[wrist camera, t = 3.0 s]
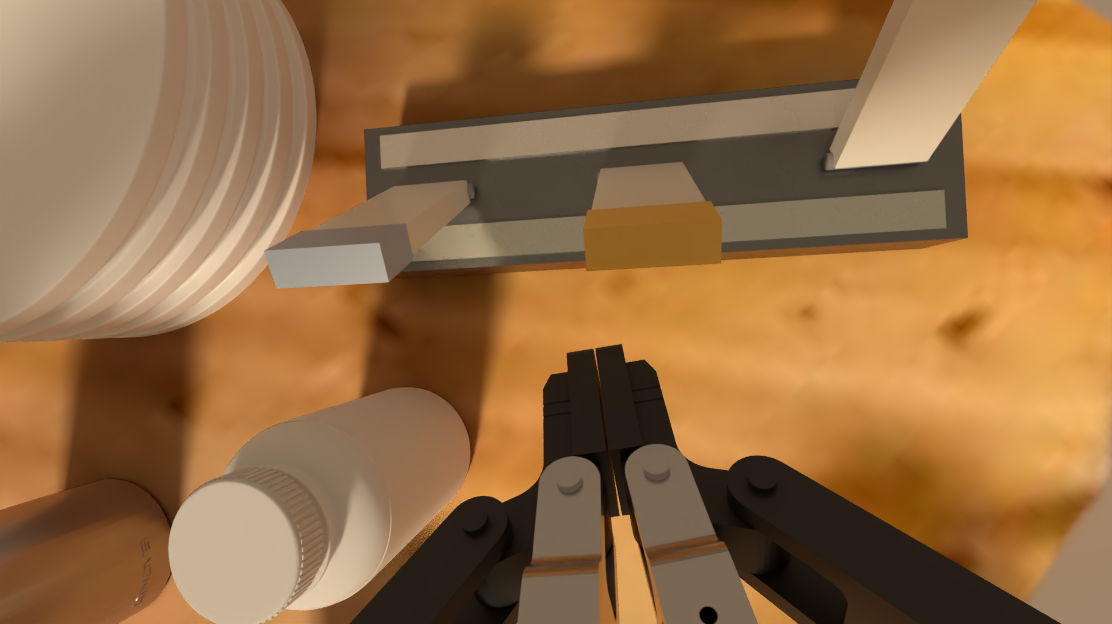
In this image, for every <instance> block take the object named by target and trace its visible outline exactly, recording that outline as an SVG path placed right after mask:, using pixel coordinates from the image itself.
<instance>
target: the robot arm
mask: <svg viewBox="0 0 1112 624" xmlns="http://www.w3.org/2000/svg"><path fill="white" fill-rule="evenodd" d="M595 349H596V357H597V364H598V370H597V365H596V360H595V355H594V350H593V349H588V350H582V351H576V352H570V353H567V365H568V372H564V373H558V374H552V375H550V377H549V379H548V381H547V383H546V385H545V387H544V389H543V405H544V407H543V416H544V419H543V430H544V465H543V470H542V473H541V475H540V477H539V479H538V480H537V482H536V483H535V484H534V485H533V486H532V487H531V488H530V489H529V490H527V491H526V492H524V493H522V494H520V495H519V496H516V497H514V498H512V499H510V500H507V501H505V502H503V503H501V502H500V501H499V500H497V499H495V498H493V497H489V496H478V497H474V498H471V499H469V500H466V501H465V502H463V503H461V504H460V505H459V506H458V507H457V508H455V509H454V510H453V512H452V513H451V514H450V515H449V516H448V517H447V518H446V519H445V520H444V521H443V522H442V524H441V525H440V526H439V527H438V528H437V529H436V530H435V531H434V532H433V533H432V534H431V536H430V537H429V538H428V539H427V540H426V541H425V542H424V543H423V544H422V545H421V547H420V548H419V549H418V550H417V551H416V552H415V553H414V554H413V555H412V556H411V557H410V559H409V560H408V561H407V562H406V563H405V564H404V565H403V566H402V567H401V568H400V569H399V571H398V572H397V573H396V574H395V575H394V576H393V577H392V578H391V579H390V580H389V581H388V583H387V584H386V585H385V586H384V587H383V588H382V589H381V590H380V591H379V592H378V594H377V595H376V596H375V597H374V598H373V599H372V600H371V601H370V602H369V603H368V604H367V606H366V607H365V608H364V609H363V610H362V611H361V612H360V613H359V614H358V615H357V616H356V618H355V619H354V620H353V621H352V622H351V623H350V624H516V623H517V624H619V604H618V582H617V561H616V546H615V541H614V537H613V532H612V523H611V517H615V516H620V515H619V508H618V501H617V494H616V487H615V481H616V486H617V491H618V496H619V501H620V506H621V511H622V516H623V515H630V519H631V525H632V530H633V535H634V538H635V540H636V541H637V543H638V547H639V551H640V555H641V559H642V563H643V567H644V571H645V575H646V579H647V583H648V587H649V591H650V595H651V599H652V603H653V607H654V611H655V615H656V619H657V624H758V623H757V620H756V618H755V615H754V613H753V610H752V608H751V605H750V603H749V600H748V598H747V595H746V593H745V590H744V588H743V585H742V583H741V580H740V578H741V579H742V580H744V581H745V582H746V583H747V584H749V585H750V586H751V587H753V588H754V589H755V590H756V591H758V592H759V593H760V594H761V595H763V596H764V597H765V598H766V599H768V600H769V601H770V602H772V603H773V604H774V605H775V606H777V607H778V608H779V609H780V610H782V611H783V612H784V613H785V614H787V615H788V616H789V617H791V618H792V619H793V620H794V621H796V622H797V623H798V624H1061V623H1059V622H1057V621H1056V620H1054V619H1052V618H1050V617H1049V616H1047V615H1045V614H1043V613H1042V612H1040V611H1038V610H1037V609H1035V608H1033V607H1031V606H1030V605H1028V604H1026V603H1024V602H1023V601H1021V600H1019V599H1018V598H1016V597H1014V596H1012V595H1011V594H1009V593H1007V592H1005V591H1004V590H1002V589H1000V588H999V587H997V586H995V585H993V584H992V583H990V582H988V581H986V580H985V579H983V578H981V577H979V576H978V575H976V574H974V573H973V572H971V571H969V570H967V569H966V568H964V567H962V566H960V565H959V564H957V563H955V562H954V561H952V560H950V559H948V558H947V557H945V556H943V555H941V554H940V553H938V552H936V551H935V550H933V549H931V548H929V547H928V546H926V545H924V544H922V543H921V542H919V541H917V540H915V539H914V538H912V537H910V536H909V535H907V534H905V533H903V532H902V531H900V530H898V529H896V528H895V527H893V526H891V525H890V524H888V523H886V522H884V521H883V520H881V519H879V518H877V517H876V516H874V515H872V514H871V513H869V512H867V511H865V510H864V509H862V508H860V507H858V506H857V505H855V504H853V503H852V502H850V501H848V500H846V499H845V498H843V497H841V496H839V495H838V494H836V493H834V492H832V491H831V490H829V489H827V488H826V487H824V486H822V485H820V484H819V483H817V482H815V481H813V480H812V479H810V478H808V477H807V476H805V475H803V474H801V473H800V472H798V471H796V470H794V469H793V468H791V467H789V466H788V465H786V464H784V463H782V462H780V461H778V460H776V459H774V458H771V457H766V456H749V457H745V458H742V459H740V460H738V461H737V462H735V463H734V464H733V465H732V466H731V468H730V469H729V471H728V470H721V469H713V468H707V467H703V466H700V465H697V464H695V463H693V462H691V461H690V460H688V459H687V458H686V457H684V456H683V454H682V453H681V452H680V451H679V449H678V447H677V445H676V442H675V438H674V435H673V431H672V427H671V424H670V420H669V416H668V413H667V409H666V406H665V402H664V399H663V395H662V391H661V388H660V384H659V380H658V377H657V373H656V371H655V370H654V369H653V368H652V367H651V366H650V365H649V364H648V363H647V362H646V361H645V360H639V361H633V362H627V363H626V362H625V357H624V352H623V348H622V344H619V345H613V346H607V347H601V348H595ZM598 371H599V376H598ZM599 378H600V381H599ZM613 471H614V473H613ZM614 476H615V480H614ZM170 531H171V529H170V526H169V524H168V521H167V518H166V516H165V514H164V513H163V511H162V509H161V508H160V506H159V505H158V503H157V502H156V501H155V500H154V499H153V498H152V497H151V496H150V494H148V493H147V492H145V491H144V490H143V489H141V488H140V487H139V486H136V485H134V484H132V483H130V482H127V481H123V480H117V479H106V480H100V481H96V482H93V483H90V484H86V485H83V486H80V487H76V488H73V489H70V490H67V491H61V492H57V493H54V494H51V495H48V496H44V497H41V498H38V499H35V500H31V501H28V502H25V503H22V504H18V505H15V506H12V507H8V508H5V509H2V510H0V624H119V623H120V622H122V621H124V620H125V619H127V618H129V617H130V616H132V615H134V614H135V613H137V612H139V611H140V610H142V609H144V608H145V607H147V606H148V605H149V604H150V603H152V602H153V601H154V600H155V599H156V598H157V597H158V596H159V594H160V593H161V591H162V590H163V589H164V587H165V585H166V583H167V580H168V578H169V576H170V573H171V568H170V562H169V552H168V546H169V536H170ZM739 577H740V578H739Z"/></svg>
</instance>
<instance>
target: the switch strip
mask: <svg viewBox="0 0 1112 624" xmlns="http://www.w3.org/2000/svg"><path fill="white" fill-rule="evenodd" d="M859 80H860V79H855V80H845V81H836V82H826V83H816V84H806V85H796V86H787V87H777V88H767V89H757V90H748V91H738V92H728V93H718V94H708V95H699V96H689V97H679V98H669V99H659V100H650V101H640V102H630V103H620V104H611V105H601V106H591V107H581V108H571V109H562V110H552V111H542V112H532V113H522V114H513V115H503V116H493V117H483V118H473V119H464V120H454V121H444V122H434V123H425V124H415V125H405V126H395V127H385V128H376V129H366V130H364V137H365V162H366V187H367V200H369V199H371V198H373V197H375V196H376V195H378V194H380V193H382V192H384V191H386V190H388V189H390V188H392V187H393V186H403V185H415V184H426V183H438V182H450V181H462V180H467V183H473V184H474V186H475V198H471V199H470V204H469V205H468V206H466V207H465V208H464V209H463V210H462V211H461V212H460V213H459V214H458V215H457V216H455V217H454V218H453V219H452V220H451V221H450V222H449V223H448V224H447V225H445V226H444V227H443V228H442V229H441V230H440V231H439V232H438V233H437V234H435V235H434V236H433V237H432V238H431V239H430V240H429V241H428V242H427V243H425V244H424V245H423V246H422V247H421V248H420V249H419V250H418V251H417V252H416V253H414V254H413V258H414V259H413V260H412V261H411V262H410V263H409V264H408V265H407V266H406V267H405V268H404V269H403V270H402V271H400V272H399V273H398V274H397V275H396V276H395V277H394V278H400V279H404V278H421V277H438V276H455V275H473V274H490V273H507V272H524V271H542V270H559V269H576V268H586V259H585V247H584V235H583V227H584V223H585V219H586V215H587V211H588V210H591V209H592V205H593V201H594V196H595V192H596V187H597V172H600V169H604V168H616V167H628V166H639V165H651V164H663V163H675V162H683V164H684V165H686V166H687V170H688V172H689V174H690V176H691V177H692V179H693V181H694V182H695V184H696V186H697V187H698V189H699V191H700V192H701V194H702V196H703V197H704V199H705V201H711V202H712V204H713V206H714V207H715V209H716V210H717V212H718V214H719V215H720V217H721V218H722V246H721V260H731V259H748V258H765V257H783V256H800V255H817V254H834V253H852V252H869V251H886V250H903V249H921V248H927V247H931V246H935V245H939V244H944V243H948V242H952V241H957V240H961V239H965V238H968V232H967V213H966V195H965V177H964V158H963V140H962V122H961V113H960V114H959V116H958V117H957V119H956V120H955V121H954V123H953V124H952V126H951V127H950V129H949V130H948V132H947V133H946V135H945V136H944V138H943V139H942V140H941V142H940V143H939V145H938V146H937V148H936V149H935V151H934V152H933V154H932V155H931V157H930V159H929V161H928V162H925V163H913V164H900V165H888V166H875V167H863V168H850V169H837V170H825V169H824V156H825V154H826V153H831V152H830V147H831V145H832V142H833V140H834V138H835V135H836V133H837V131H838V128H839V126H840V124H841V122H842V119H843V117H844V115H845V112H846V110H847V108H848V105H849V103H850V101H851V98H852V96H853V94H854V91H855V89H856V87H857V84H858V82H859Z"/></svg>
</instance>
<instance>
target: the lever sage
mask: <svg viewBox="0 0 1112 624" xmlns="http://www.w3.org/2000/svg"><path fill="white" fill-rule="evenodd" d="M1036 2H1037V0H894V1H893V4H892V6H891V8H890V10H889V13H888V15H887V17H886V20H885V22H884V24H883V27H882V29H881V31H880V34H879V36H878V38H877V41H876V43H875V45H874V47H873V50H872V52H871V54H870V57H869V59H868V61H867V64H866V66H865V68H864V71H863V73H862V75H861V78H860V80H859V82H858V84H857V87H856V89H855V91H854V94H853V96H852V98H851V101H850V103H849V105H848V108H847V110H846V112H845V115H844V117H843V119H842V122H841V124H840V126H839V128H838V131H837V133H836V135H835V138H834V140H833V142H832V145H831V147H830V152H831V153H826V154H825V156H824V169H825V170H837V169H850V168H863V167H875V166H888V165H900V164H913V163H925V162H928V161H929V159H930V157H931V155H932V154H933V152H934V151H935V149H936V148H937V146H938V145H939V143H940V142H941V140H942V139H943V138H944V136H945V135H946V133H947V132H948V130H949V129H950V127H951V126H952V124H953V123H954V121H955V120H956V119H957V117H958V116H959V114H960V113H961V111H962V110H963V108H964V107H965V105H966V104H967V102H968V101H969V100H970V98H971V97H972V95H973V94H974V92H975V91H976V89H977V88H978V86H979V85H980V83H981V82H982V81H983V79H984V78H985V76H986V75H987V73H988V72H989V70H990V69H991V67H992V66H993V64H994V63H995V62H996V60H997V59H998V57H999V56H1000V54H1001V53H1002V51H1003V50H1004V48H1005V47H1006V45H1007V44H1008V43H1009V41H1010V40H1011V38H1012V37H1013V35H1014V34H1015V32H1016V31H1017V29H1018V28H1019V26H1020V25H1021V24H1022V22H1023V21H1024V19H1025V18H1026V16H1027V15H1028V13H1029V12H1030V10H1031V9H1032V7H1033V6H1034V5H1035V3H1036Z"/></svg>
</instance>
